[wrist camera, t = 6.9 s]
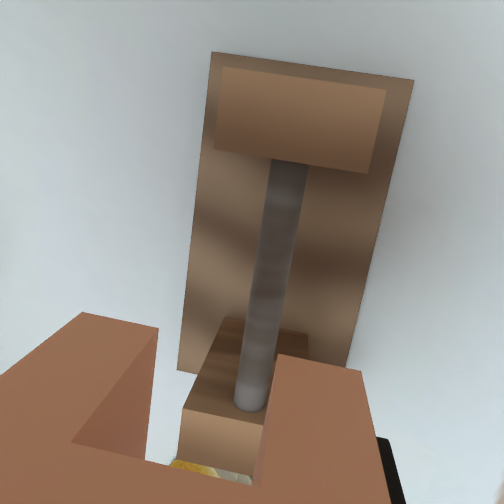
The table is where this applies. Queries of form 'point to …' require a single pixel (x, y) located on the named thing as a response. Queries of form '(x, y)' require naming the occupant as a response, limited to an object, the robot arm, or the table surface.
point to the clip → (137, 418)
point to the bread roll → (212, 472)
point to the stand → (278, 236)
